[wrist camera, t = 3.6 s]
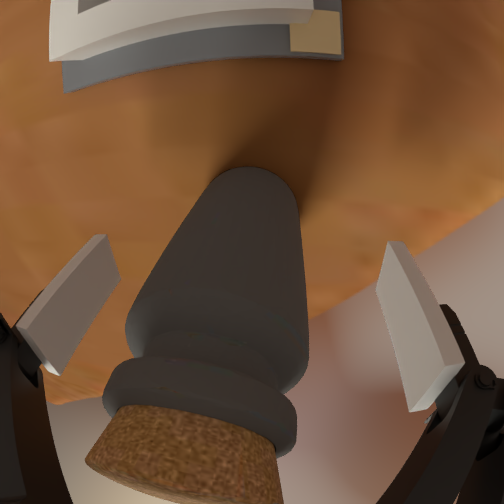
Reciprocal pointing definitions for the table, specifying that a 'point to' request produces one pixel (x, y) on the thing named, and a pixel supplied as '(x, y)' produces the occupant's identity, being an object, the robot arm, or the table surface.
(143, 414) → the bottle
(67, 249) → the table surface
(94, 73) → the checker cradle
